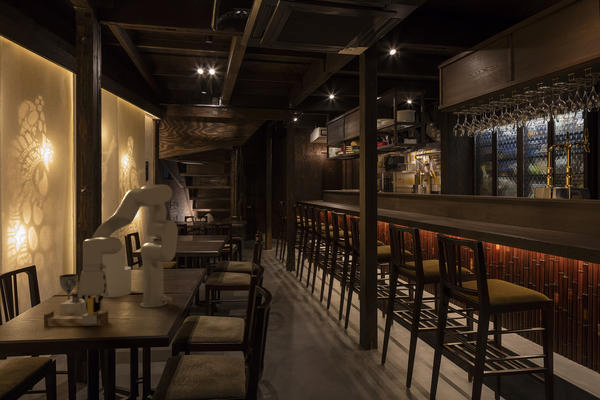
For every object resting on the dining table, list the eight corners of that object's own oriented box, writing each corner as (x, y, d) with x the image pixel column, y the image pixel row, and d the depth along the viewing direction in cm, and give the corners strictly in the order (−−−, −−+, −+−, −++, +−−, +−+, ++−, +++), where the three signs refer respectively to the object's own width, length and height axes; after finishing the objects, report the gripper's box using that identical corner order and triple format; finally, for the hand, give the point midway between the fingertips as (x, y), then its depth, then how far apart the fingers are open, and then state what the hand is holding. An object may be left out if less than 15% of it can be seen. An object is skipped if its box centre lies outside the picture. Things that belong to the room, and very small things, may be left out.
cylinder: (111, 298, 218) (110, 246, 218) (90, 295, 227) (90, 244, 227) (138, 292, 233) (137, 242, 233) (118, 288, 242) (117, 241, 242)
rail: (108, 322, 177) (108, 310, 177) (102, 325, 172) (102, 314, 172) (51, 322, 177) (51, 311, 177) (44, 326, 172) (43, 314, 172)
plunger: (82, 306, 187) (81, 292, 187) (77, 309, 183) (77, 293, 183) (74, 307, 187) (73, 292, 187) (69, 309, 183) (69, 293, 183)
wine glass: (57, 308, 200) (57, 277, 200) (62, 304, 208) (62, 274, 208) (75, 306, 202) (75, 276, 202) (79, 302, 210) (79, 273, 210)
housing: (91, 313, 190) (90, 298, 190) (80, 320, 180) (80, 304, 180) (71, 314, 190) (71, 299, 190) (59, 320, 180) (59, 304, 180)
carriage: (104, 319, 178) (103, 295, 178) (96, 324, 171) (96, 298, 171) (90, 319, 178) (89, 295, 178) (82, 324, 171) (81, 299, 171)
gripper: (115, 266, 178) (116, 308, 178) (78, 266, 178) (78, 309, 178) (108, 269, 171) (108, 313, 171) (68, 269, 170) (69, 313, 170)
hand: (93, 310), depth 174 cm, fingers closed on carriage, 2 cm apart
